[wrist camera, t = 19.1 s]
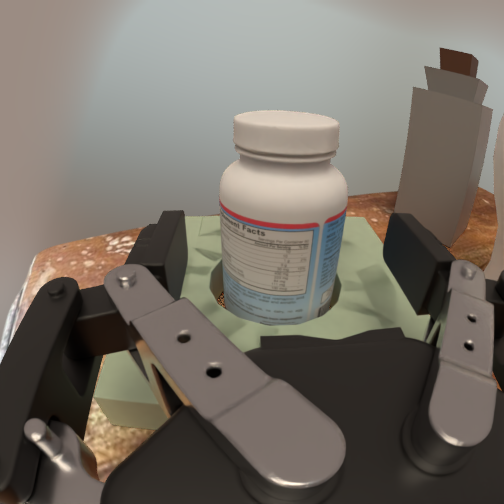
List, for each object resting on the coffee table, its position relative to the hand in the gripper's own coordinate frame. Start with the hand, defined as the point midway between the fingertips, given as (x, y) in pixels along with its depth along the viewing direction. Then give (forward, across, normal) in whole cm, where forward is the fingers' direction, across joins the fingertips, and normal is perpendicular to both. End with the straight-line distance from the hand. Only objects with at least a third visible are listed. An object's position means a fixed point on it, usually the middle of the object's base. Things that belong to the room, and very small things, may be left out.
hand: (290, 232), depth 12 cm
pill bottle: (+4, 0, +8) cm, 8 cm away
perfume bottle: (+16, -18, +8) cm, 25 cm away
